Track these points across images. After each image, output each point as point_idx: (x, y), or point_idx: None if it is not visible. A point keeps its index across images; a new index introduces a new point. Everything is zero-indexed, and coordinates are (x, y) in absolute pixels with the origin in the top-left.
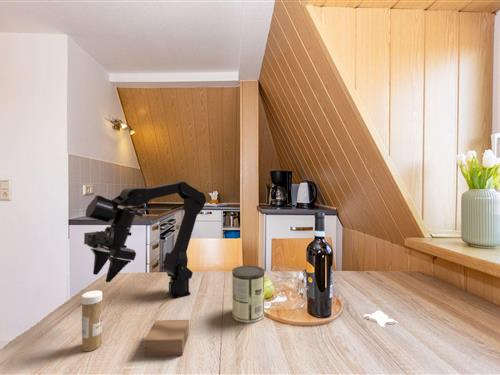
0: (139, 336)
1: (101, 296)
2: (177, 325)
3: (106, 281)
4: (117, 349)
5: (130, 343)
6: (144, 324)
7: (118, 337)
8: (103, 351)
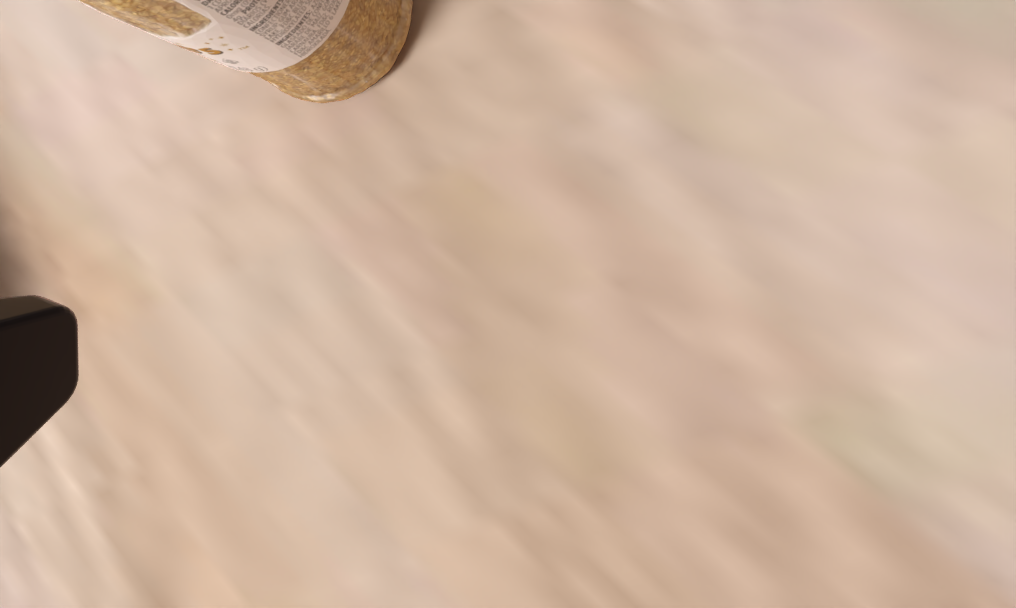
0: None
1: None
2: None
3: (38, 302)
4: (100, 91)
5: (68, 205)
6: (177, 520)
7: (230, 232)
8: None
